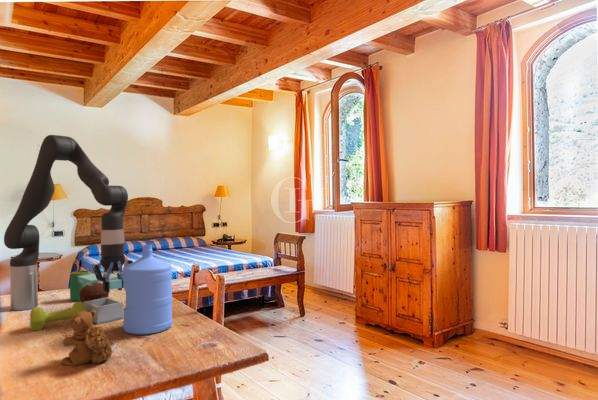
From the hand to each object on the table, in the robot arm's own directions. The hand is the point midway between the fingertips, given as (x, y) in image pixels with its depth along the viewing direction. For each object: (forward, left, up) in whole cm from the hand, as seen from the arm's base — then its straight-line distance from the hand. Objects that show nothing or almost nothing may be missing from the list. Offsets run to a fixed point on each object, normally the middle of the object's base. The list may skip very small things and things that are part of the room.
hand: (113, 290), depth 147 cm
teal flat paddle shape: (-7, 0, +1) cm, 7 cm away
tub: (-8, 0, -11) cm, 14 cm away
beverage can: (-44, +6, -12) cm, 46 cm away
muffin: (-25, +4, -12) cm, 28 cm away
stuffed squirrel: (+29, -20, -12) cm, 37 cm away
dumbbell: (-12, -14, -12) cm, 22 cm away
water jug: (+15, +5, -12) cm, 19 cm away
